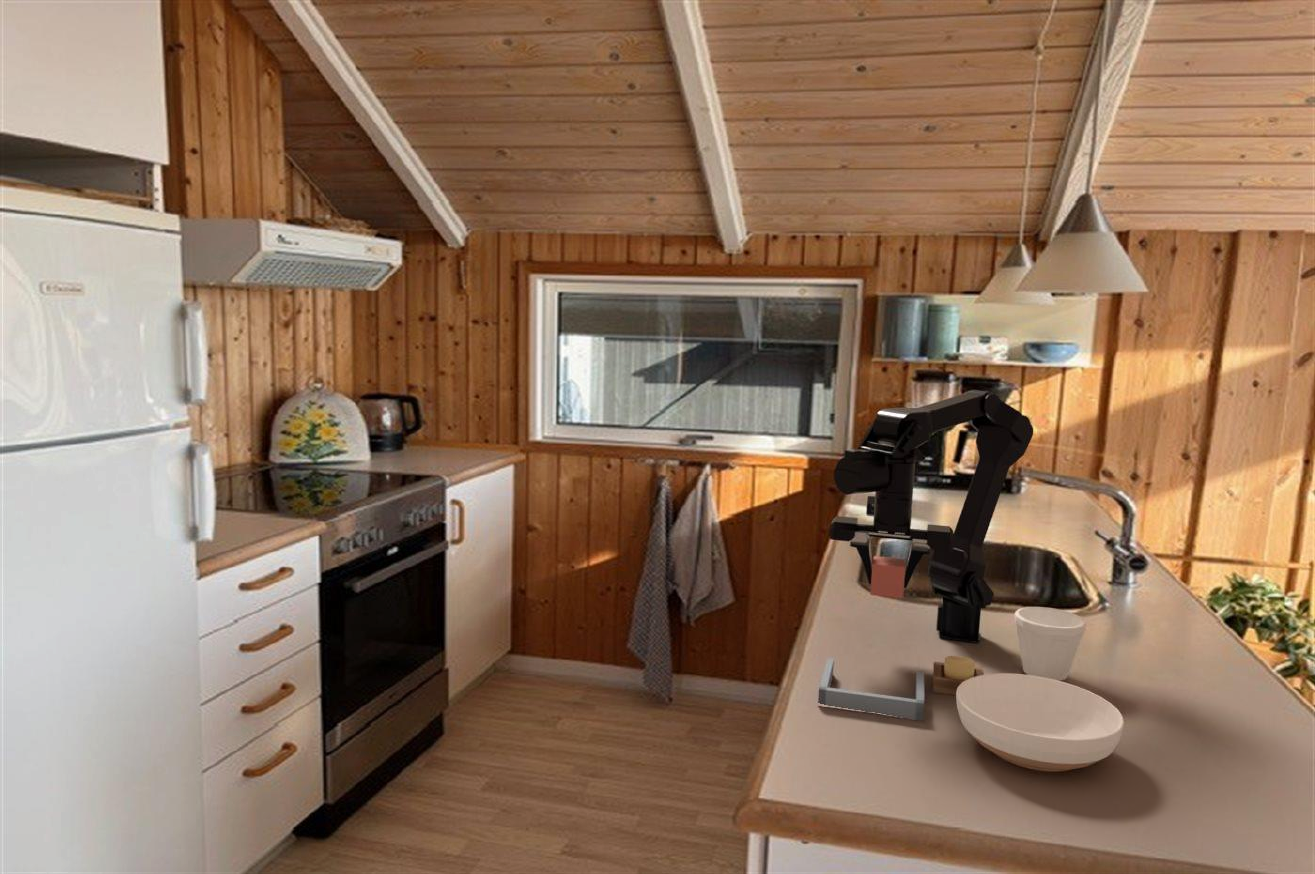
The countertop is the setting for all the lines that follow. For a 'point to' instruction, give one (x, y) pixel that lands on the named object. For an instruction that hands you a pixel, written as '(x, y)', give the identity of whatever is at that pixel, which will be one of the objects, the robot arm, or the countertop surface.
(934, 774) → the countertop surface
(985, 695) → the bowl
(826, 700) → the pocket
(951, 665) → the pale yellow rounded block
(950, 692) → the housing
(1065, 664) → the cup
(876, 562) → the cube
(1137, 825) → the countertop surface
